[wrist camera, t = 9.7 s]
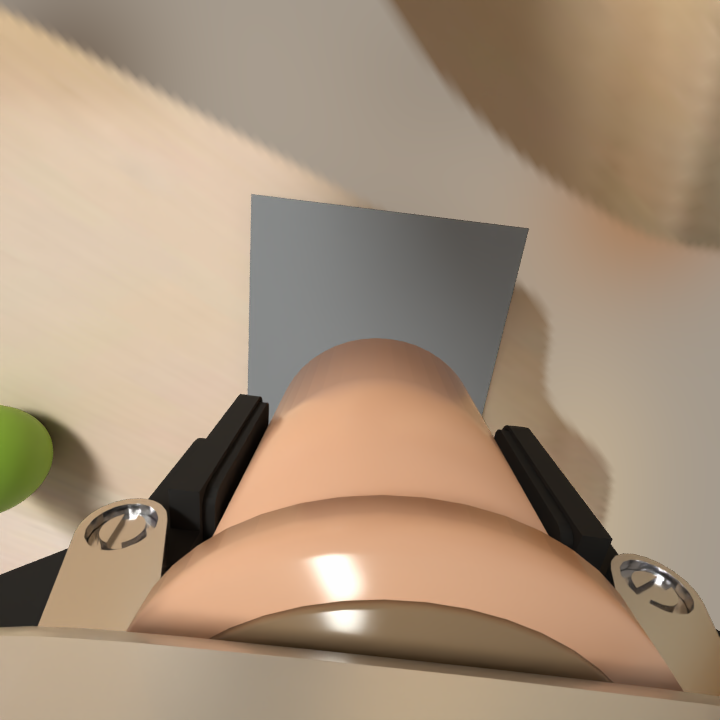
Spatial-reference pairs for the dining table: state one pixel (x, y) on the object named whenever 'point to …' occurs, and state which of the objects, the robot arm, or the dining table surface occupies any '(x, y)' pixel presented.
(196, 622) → the terracotta pot
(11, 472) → the snail figurine
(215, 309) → the dining table surface
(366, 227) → the grey mat
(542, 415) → the dining table surface
